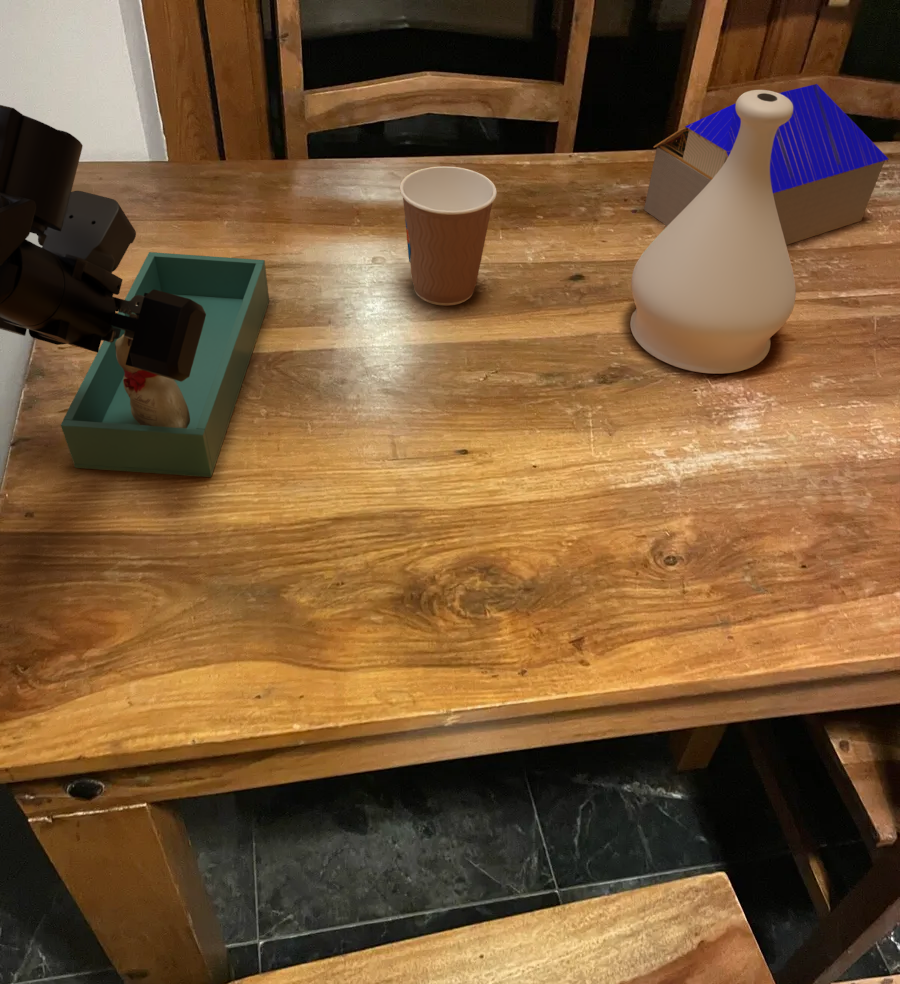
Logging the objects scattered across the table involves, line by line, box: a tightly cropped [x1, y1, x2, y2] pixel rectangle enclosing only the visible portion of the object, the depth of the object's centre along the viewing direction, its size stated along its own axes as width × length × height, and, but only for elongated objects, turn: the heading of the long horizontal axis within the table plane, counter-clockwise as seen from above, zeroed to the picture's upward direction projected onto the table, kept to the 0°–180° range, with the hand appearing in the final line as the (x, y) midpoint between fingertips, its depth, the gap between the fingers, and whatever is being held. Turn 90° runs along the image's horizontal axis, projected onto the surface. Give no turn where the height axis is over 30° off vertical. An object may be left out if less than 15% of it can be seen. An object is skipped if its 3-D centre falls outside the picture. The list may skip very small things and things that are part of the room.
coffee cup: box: [399, 165, 497, 307], centre depth 104 cm, size 10×10×12 cm
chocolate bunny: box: [115, 333, 190, 428], centre depth 83 cm, size 6×8×10 cm
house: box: [643, 83, 890, 246], centre depth 117 cm, size 25×16×16 cm, turn 121°
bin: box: [60, 251, 270, 478], centre depth 94 cm, size 30×13×5 cm, turn 177°
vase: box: [629, 89, 797, 375], centre depth 95 cm, size 17×17×25 cm
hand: (145, 339), depth 83 cm, fingers closed on chocolate bunny, 5 cm apart
